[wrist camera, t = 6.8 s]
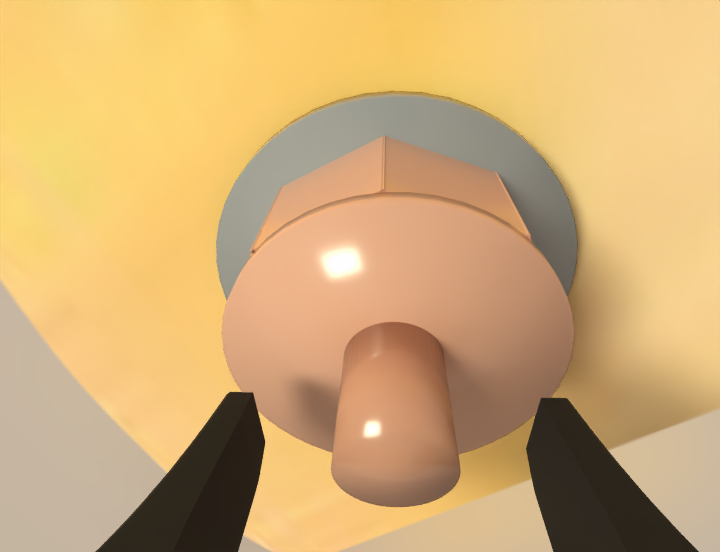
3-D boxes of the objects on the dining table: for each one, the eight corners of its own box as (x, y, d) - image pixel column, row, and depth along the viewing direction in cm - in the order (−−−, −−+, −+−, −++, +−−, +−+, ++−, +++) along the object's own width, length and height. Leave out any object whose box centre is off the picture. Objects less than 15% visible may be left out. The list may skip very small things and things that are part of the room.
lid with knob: (585, 191, 14) (752, 383, 8) (459, 386, 20) (495, 597, 13) (291, 94, 13) (195, 223, 7) (241, 329, 18) (161, 531, 12)
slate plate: (651, 181, 15) (663, 191, 14) (462, 415, 22) (465, 428, 21) (269, 19, 13) (263, 22, 12) (197, 335, 20) (191, 348, 19)
